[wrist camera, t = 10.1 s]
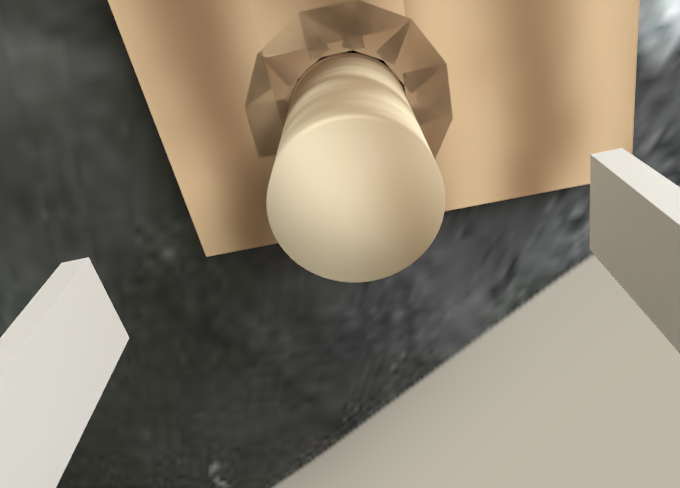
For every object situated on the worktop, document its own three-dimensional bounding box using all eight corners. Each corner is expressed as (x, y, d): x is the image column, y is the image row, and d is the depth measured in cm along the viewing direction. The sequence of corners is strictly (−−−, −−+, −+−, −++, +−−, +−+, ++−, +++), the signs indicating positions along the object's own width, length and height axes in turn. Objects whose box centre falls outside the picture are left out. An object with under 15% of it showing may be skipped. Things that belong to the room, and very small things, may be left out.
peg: (307, 159, 30) (290, 297, 18) (280, 55, 27) (241, 139, 16) (408, 138, 29) (456, 266, 18) (391, 30, 26) (434, 98, 15)
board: (217, 230, 32) (206, 256, 29) (103, -83, 24) (74, -86, 22) (605, 154, 30) (631, 175, 27) (613, -215, 22) (650, -235, 20)
